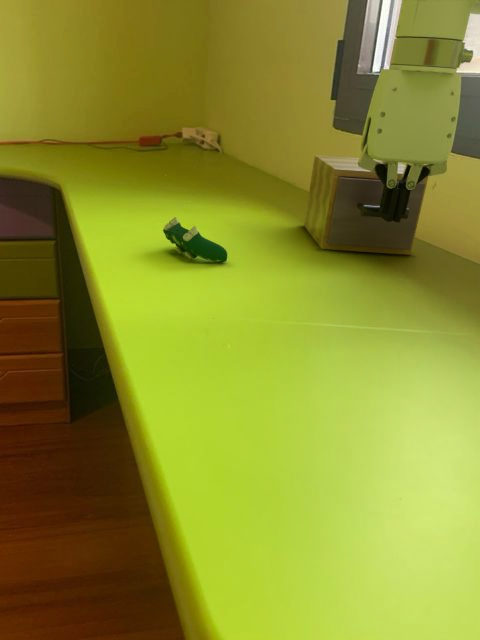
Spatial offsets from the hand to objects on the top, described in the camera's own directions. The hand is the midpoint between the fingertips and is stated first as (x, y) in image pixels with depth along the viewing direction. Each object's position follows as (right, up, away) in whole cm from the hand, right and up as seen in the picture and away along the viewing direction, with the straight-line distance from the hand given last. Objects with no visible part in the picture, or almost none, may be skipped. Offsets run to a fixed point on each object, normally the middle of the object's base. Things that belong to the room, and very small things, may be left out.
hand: (390, 219), depth 88 cm
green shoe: (-25, -4, +2) cm, 26 cm away
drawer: (0, +1, +13) cm, 13 cm away
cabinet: (0, +2, +17) cm, 17 cm away
